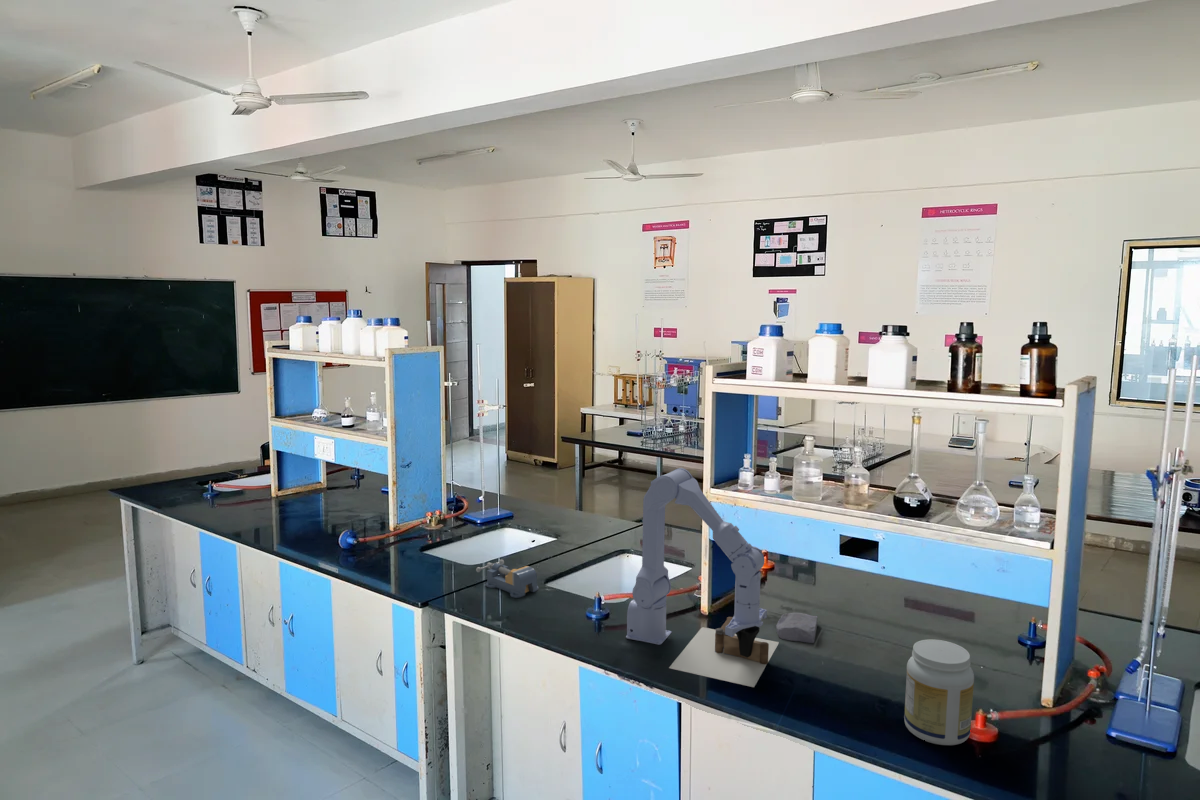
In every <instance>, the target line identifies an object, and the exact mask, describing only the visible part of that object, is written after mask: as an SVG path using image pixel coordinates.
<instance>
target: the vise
mask: <svg viewBox="0 0 1200 800" xmlns="http://www.w3.org/2000/svg"><path fill="white" fill-rule="evenodd" d="M485 569H488V570H486V574H487V575H486V576H487V577H486V578H487V581H486V582H485V587H486V588H490V589H494V588H496V589H500V590H502V591H504V592H507V593H509V595H510V597H511V598H522V597H525V596H526V593H528V592H531V593H535V592H537V591H539V586H538V575H537V572H536V570H535V569H534V568H533V567H531V566H529V565H524V566H522V567H519V568H512V569H509V566H507V565H505V561H504V559H499V560H498V561H497V562H494V563H493V562H486V565H485V566H482V567H480V566H477V567H476V569H475V571H476V572H477V573H480V572H482V570H485Z"/></svg>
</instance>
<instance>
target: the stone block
mask: <svg viewBox="0 0 1200 800" xmlns="http://www.w3.org/2000/svg"><path fill="white" fill-rule="evenodd" d="M775 627H776V633H777V635H778V637H779V639H783V640H788V641H792V642H793V641H795V642H802V643H803V642H804V643H807V644H808V643H809V644H814V643H815V640H816V634H817V627H818V615H810V614H808V613H807V614H806V613H804V612H790V613H789V612H788V613H784V614H781V616H780V618H779V619H778V621H777V623H776V625H775Z"/></svg>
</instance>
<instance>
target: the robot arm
mask: <svg viewBox="0 0 1200 800" xmlns="http://www.w3.org/2000/svg"><path fill="white" fill-rule="evenodd" d="M674 499H675V501H674V504H676V505H682V506H688V507H690V508H691V509H692V510H693V511H694V512H695V513H696V515H697V516H699V518H700V519H701V520H702V521H703V522H704V523H705V524H706V525H707V526H708V528H709V529H711V531H712V540H713V541H714V542H715V543H716V545H717V546H718V547H719V548H720V549H721V551H722V552H723V553H724V554H725V556H727V557H726V558H728V559H729V561H731V563H730V567H731V570H732V572H733V574H734V575H735V579H734V580H735V581H734V582H735V584H734V587H735V588H734V609H733V610H734V614H733V616H732V617H733V618H732V620H731V621H730V623H729V624H728V625H727V626H726V627H725V635H728V636H731V637H733V636H735V634H736V635H737V637H738V640H739V651H740V655H742V656H745V657H747V658H748V657H749V656H751V653H752V647H753V642H754V640H755V638H757V636H758V634H759V633H760V627H762V626H763V625H764V621H762V619H767V618H768V610H767V609H766V608H762V607H760V604H761V603H760V601H761V600H760V599H761V569H762V568H763V567H764V565H765V556H764V554H763V552H762V551H761V549H760V548H759V547H756V546H753V545H752V544H751V543H749V542H748V541H747V540H746V538H745V537H744V536H743V535H742V534H741V533H740V528H739V527H738V526H737V525H734V524H733V523H732V522H727V521H724V520H723V518H722V517H721V516H720V514H719V513H718V512H717V510H716V508H715V507H714V506H713V505H712V503H711V502H710V501H709V500H708V498H707V496H706V495H705V494H704V492H703V491H702V489H701V487H700V485H699V482H698V480H697V479H696V478H695V477H693V475H692V474H691V473H690V471H689V470H687V469H686V468H683V467H680V468H679V467H678V468H676V469H674V470H671V471H670V472H668V473H666V474H661V475H660V476H658V477H656V478H655V479H653V480H651V481H650V486H649V488H648V490H646V493H645V494H644V496H643V504H642V552H641V553H642V555H641V557H642V558H641V568H640V570H639V571H638V573H637V575H636V577H635V584H634V586H633V588H632V598H633V599H632V600H630V601H629V604H628V607H627V613H626V636H625V638H626V639H628V640H633V641H640V642H644V643H648V644H649V643H650V644H652V645H653V644H655V645H660V646H661V645H662V644H663V643H664V642H665V641H666V639H667V638H668V637H669V636H670V635H671V634H672V632H673V631H671V630H667V595H669V594H670V592H671V590H672V583H671V580H670V576H669V570H668V568H667V567H666V566H665V532H666V531H665V530H666V528H665V527H666V525H665V524H666V523H665V522H666V506H667V505H668V504H669V503H670V502H672V501H673V500H674Z"/></svg>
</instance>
